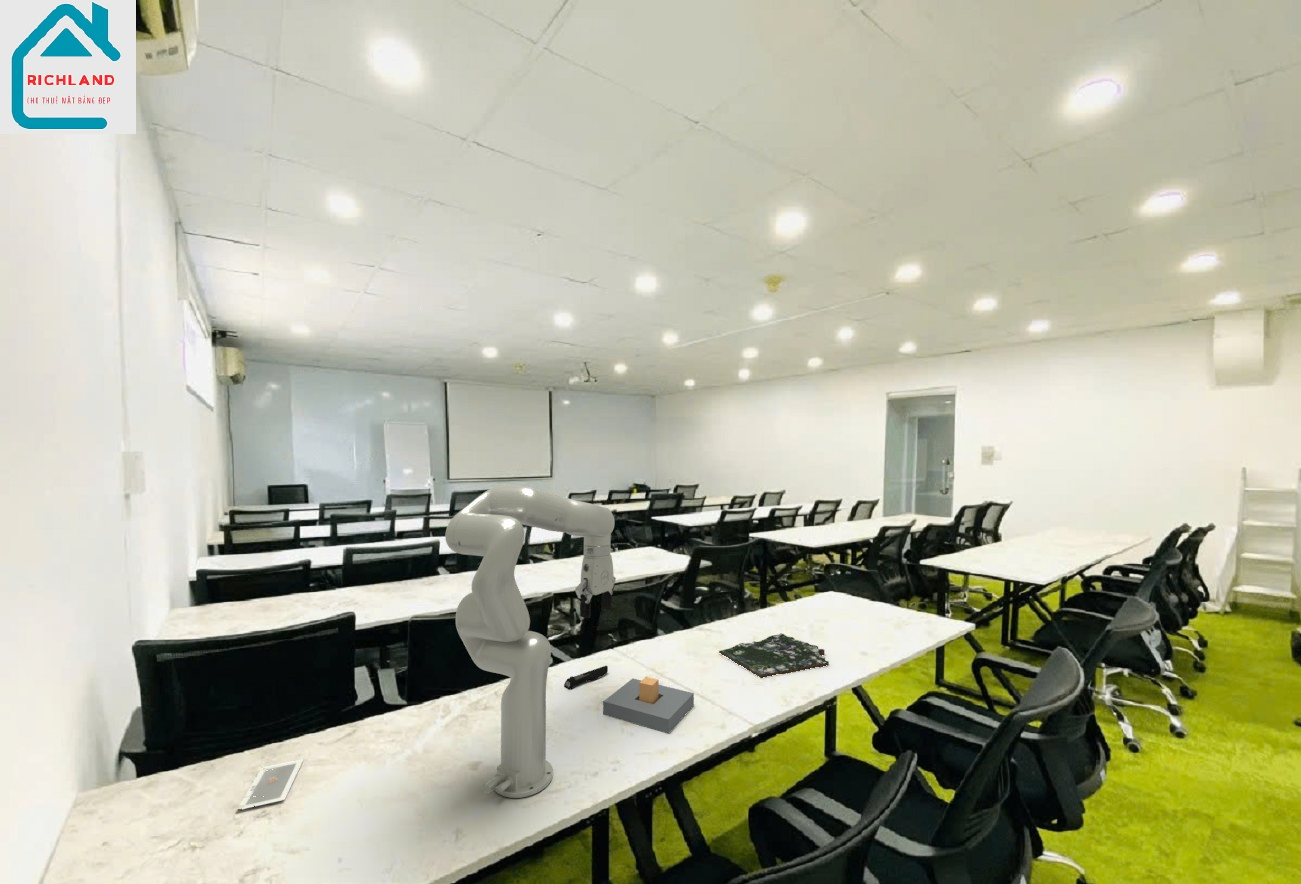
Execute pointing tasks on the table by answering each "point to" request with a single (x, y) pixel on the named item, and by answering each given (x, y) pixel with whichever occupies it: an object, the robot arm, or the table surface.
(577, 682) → the electric trimmer
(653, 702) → the peg
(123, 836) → the table surface
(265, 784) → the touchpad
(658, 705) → the socket board
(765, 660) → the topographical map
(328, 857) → the table surface
